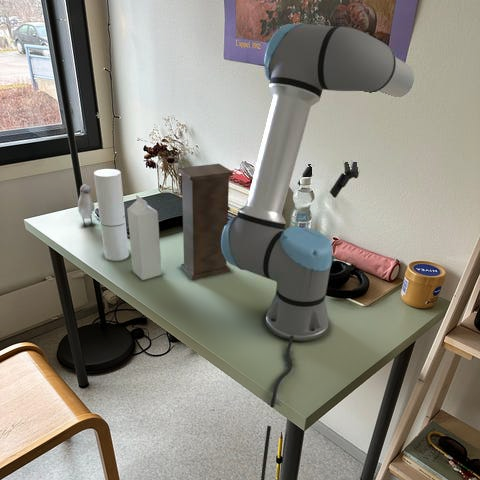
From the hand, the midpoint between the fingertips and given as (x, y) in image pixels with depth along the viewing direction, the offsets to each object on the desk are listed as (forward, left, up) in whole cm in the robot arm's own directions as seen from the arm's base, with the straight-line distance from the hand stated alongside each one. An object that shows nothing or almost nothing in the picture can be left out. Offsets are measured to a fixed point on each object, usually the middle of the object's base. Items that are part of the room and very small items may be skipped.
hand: (315, 190), depth 141 cm
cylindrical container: (-30, +52, -20) cm, 63 cm away
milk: (-36, +38, -20) cm, 56 cm away
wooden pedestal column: (-27, +24, -19) cm, 41 cm away
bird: (-15, +73, -20) cm, 77 cm away
